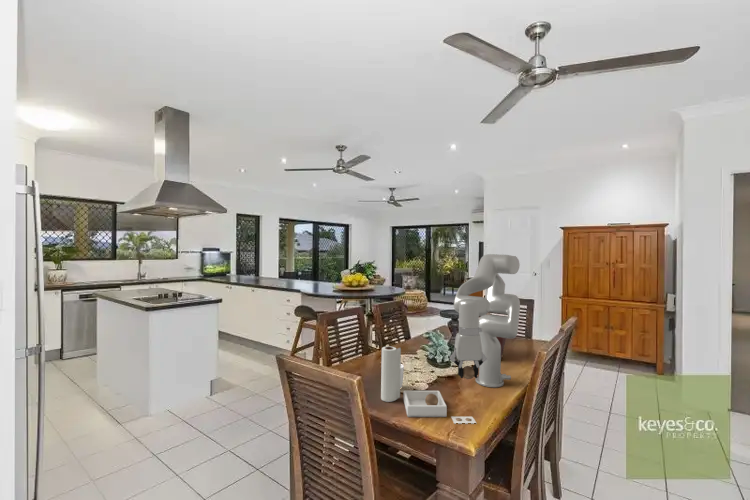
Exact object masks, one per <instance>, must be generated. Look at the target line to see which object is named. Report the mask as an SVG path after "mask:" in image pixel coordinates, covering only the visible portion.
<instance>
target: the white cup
mask: <svg viewBox="0 0 750 500" xmlns="http://www.w3.org/2000/svg"><path fill="white" fill-rule="evenodd" d="M404 367H405V366H404V364H402V363H401V372H400V388H401V387H402V388H403V382H404V370H405V369H404Z"/></svg>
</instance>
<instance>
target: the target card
mask: <svg viewBox="0 0 750 500" xmlns="http://www.w3.org/2000/svg"><path fill="white" fill-rule="evenodd" d="M450 418H451V419H452V420H451V421H452V422H453V424H454V425H463V424H462V423H465V424H464V425H469V424H468V423H471V424H470V425H475V424H474V423H476V424H477V421H476V420H475V418H474V417H473V416H450ZM456 423H458V424H456Z"/></svg>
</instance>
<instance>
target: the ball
mask: <svg viewBox="0 0 750 500" xmlns="http://www.w3.org/2000/svg"><path fill="white" fill-rule="evenodd" d="M425 402H426V404H427V405H437V404H438V398H437V396H436V395H435V394H428V395H427V396H426V398H425Z"/></svg>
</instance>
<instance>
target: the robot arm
mask: <svg viewBox="0 0 750 500" xmlns="http://www.w3.org/2000/svg"><path fill="white" fill-rule="evenodd" d="M520 263H521V262H520V260H519V258H518V256H516V255H510V254H491V253H489V254H484V255H482V257H480V260H479V262H478V264H477V269H476V271H475V273H474V276H473V277H470V278H469V279H468V280H466V281H465V282H464V283H462V284H461V285H460V286H459V287H458V289H457V292H456V294H455V296H454V300H453V308H454V310H455V312H456V313H458V332H457V333H456V334H455V341H454V351H453V352H452V354H451V355H450V356H449V360H451V362H453V363H454V364H455V365H456V366H457V374H458V376H459V378H461V379H463V378H464V377H463V368H464V367H463V364H464V361H465V362H466V361H468V362H469V361H471V362H472V361H473V364H474V365H473V366H472V368H473V369H474V371H475V375H474V377H473V378H474V379H475V383H477V384H478V385H480V386H483V387H487V388H501V387H503V386H505V385H504V384H505V383H504V381H505V380H508V381H510V380H511V379H512V377H511V375H507V374H506V373H501V362H502V361H501V360H502V357H501V345H500V342H499V341H498V339H497V338H496V337H502V338H506V339H512V340H513V339H515V338H516V337H517V336H518V332H519V322H520V311H521V302H520V298H519V296H518V295H517V294H513V293H505V292H506V291H505V289H506V283H505V281H504V279H503V277H501V276H500V274H506V275H507V274H508V275H516V274H517V273H518V272H519V269H520V265H521V264H520ZM482 291H485V296H474V295H472V294H474V293H478V292H482ZM487 313H491V314H492V315H486V314H487ZM494 314H501V315H502V316H501V315H494ZM503 315H507V316H503ZM479 316H481V317H479Z"/></svg>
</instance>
